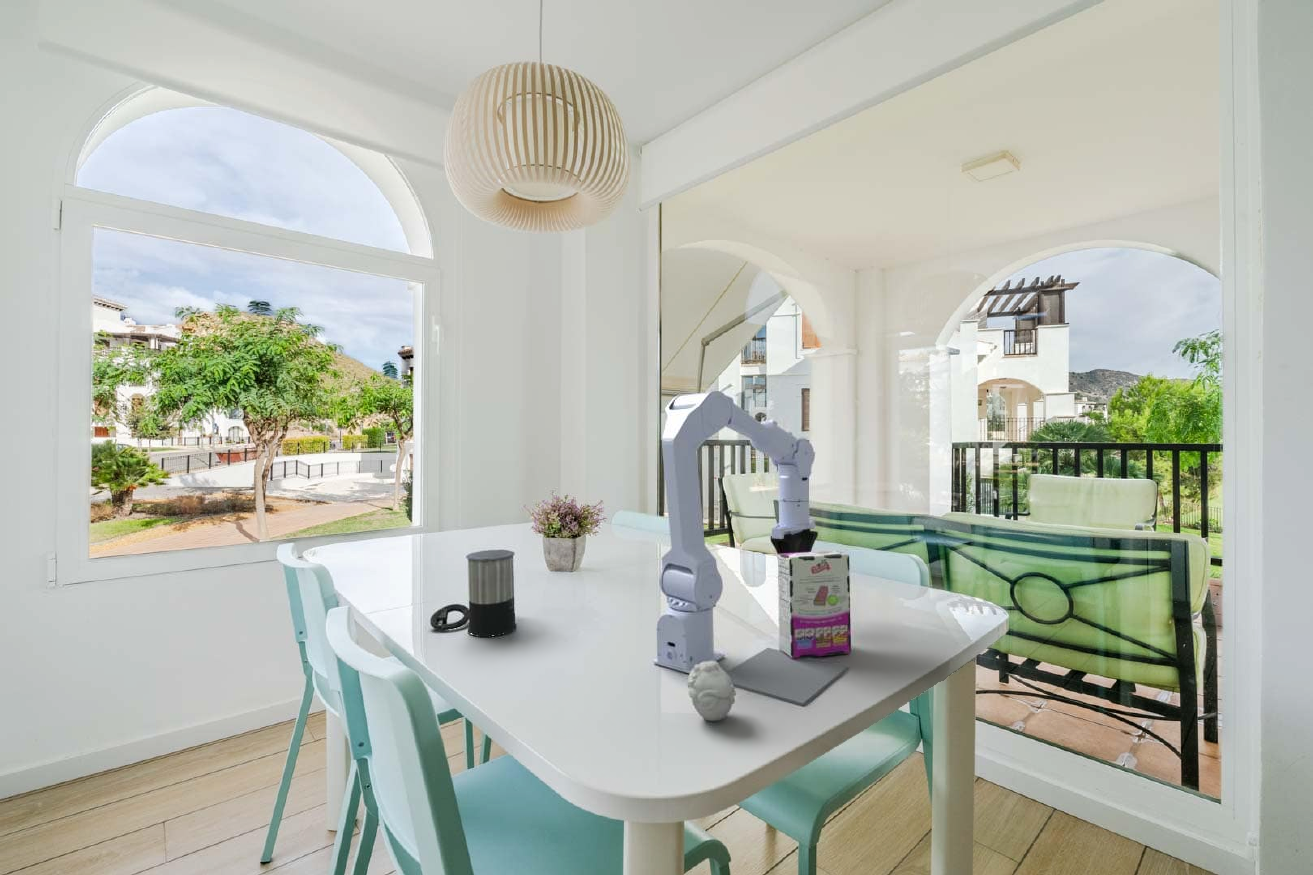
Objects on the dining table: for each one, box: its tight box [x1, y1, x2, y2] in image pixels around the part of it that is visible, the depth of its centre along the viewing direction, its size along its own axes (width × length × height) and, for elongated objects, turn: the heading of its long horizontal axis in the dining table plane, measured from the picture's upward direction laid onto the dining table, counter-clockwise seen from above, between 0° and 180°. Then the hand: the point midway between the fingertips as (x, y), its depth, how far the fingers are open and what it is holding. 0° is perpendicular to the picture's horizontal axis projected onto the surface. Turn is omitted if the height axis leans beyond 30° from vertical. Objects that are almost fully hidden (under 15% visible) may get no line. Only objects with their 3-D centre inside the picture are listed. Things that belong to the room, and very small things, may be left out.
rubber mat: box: [725, 647, 849, 707], centre depth 90 cm, size 16×14×1 cm
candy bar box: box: [777, 550, 852, 659], centre depth 99 cm, size 11×5×16 cm, turn 105°
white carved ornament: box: [687, 661, 737, 722], centre depth 77 cm, size 6×7×7 cm
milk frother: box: [429, 549, 517, 637], centre depth 116 cm, size 14×16×15 cm
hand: (795, 570), depth 114 cm, fingers open, 5 cm apart
